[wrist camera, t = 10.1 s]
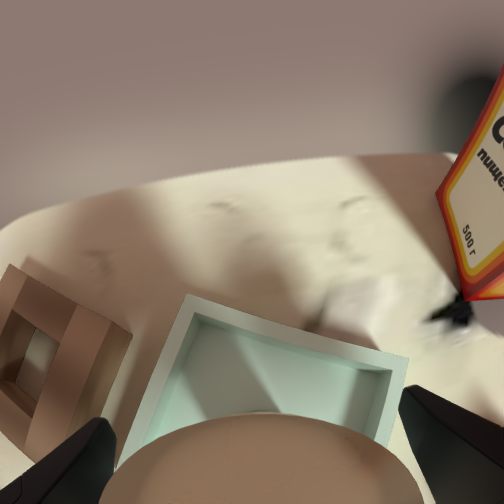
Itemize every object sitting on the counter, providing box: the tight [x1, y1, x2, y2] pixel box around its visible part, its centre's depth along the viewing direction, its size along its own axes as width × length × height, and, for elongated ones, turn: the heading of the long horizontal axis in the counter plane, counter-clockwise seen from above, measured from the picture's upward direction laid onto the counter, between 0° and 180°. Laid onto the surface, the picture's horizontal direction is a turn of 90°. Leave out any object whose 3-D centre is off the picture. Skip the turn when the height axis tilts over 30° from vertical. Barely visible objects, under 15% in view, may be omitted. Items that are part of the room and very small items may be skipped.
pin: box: [99, 410, 424, 504], centre depth 8 cm, size 4×4×13 cm
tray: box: [115, 293, 409, 471], centre depth 13 cm, size 12×12×2 cm
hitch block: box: [0, 264, 133, 464], centre depth 14 cm, size 10×10×3 cm
